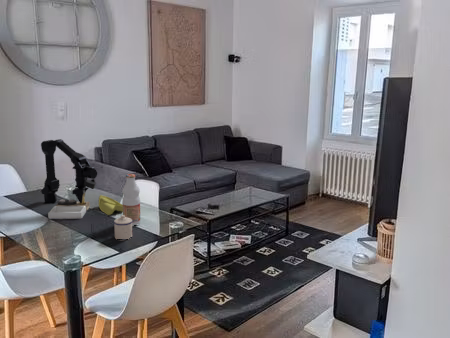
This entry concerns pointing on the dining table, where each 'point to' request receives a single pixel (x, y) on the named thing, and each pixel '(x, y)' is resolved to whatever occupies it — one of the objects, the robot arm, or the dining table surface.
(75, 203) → the plate
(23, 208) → the dining table surface
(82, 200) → the lock pin
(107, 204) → the plastic component
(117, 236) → the teacup with lid
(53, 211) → the tray
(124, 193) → the fruit juice
